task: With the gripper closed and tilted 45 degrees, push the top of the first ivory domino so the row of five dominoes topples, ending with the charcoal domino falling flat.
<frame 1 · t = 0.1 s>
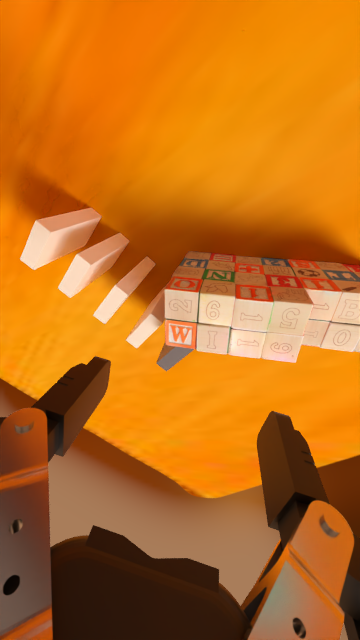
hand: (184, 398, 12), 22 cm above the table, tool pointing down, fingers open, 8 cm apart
domino 2: (115, 250, 32), on the table
domino 3: (141, 272, 33), on the table
stack of blocks: (268, 280, 31), on the table
domino 5: (189, 313, 35), on the table
domino 4: (165, 293, 34), on the table
domino 1: (88, 227, 31), on the table
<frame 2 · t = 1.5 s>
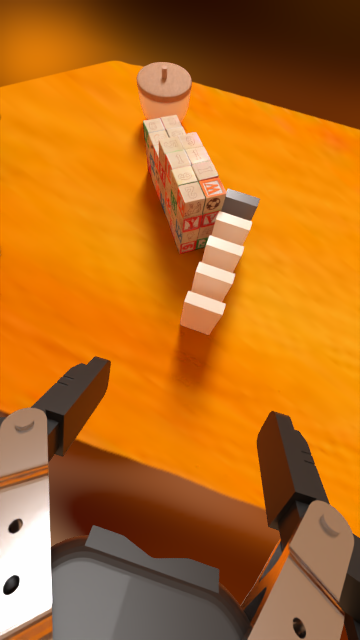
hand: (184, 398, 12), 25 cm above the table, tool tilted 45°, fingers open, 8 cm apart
domino 2: (204, 302, 40), on the table
domino 3: (212, 280, 42), on the table
stack of blocks: (177, 206, 47), on the table
domino 5: (226, 240, 45), on the table
lidded jar: (164, 123, 54), on the table
domino 4: (219, 259, 43), on the table
domino 1: (195, 325, 39), on the table
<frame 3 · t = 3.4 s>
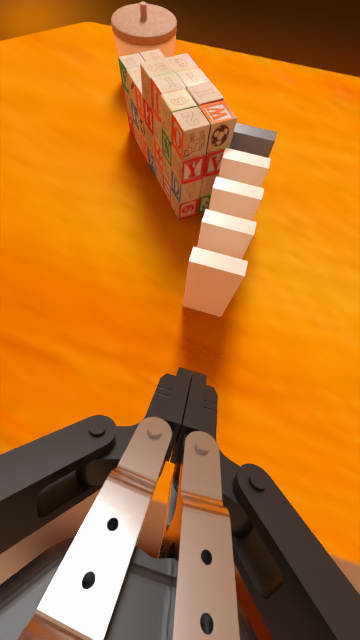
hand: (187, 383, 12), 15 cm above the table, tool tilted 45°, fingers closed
domino 2: (211, 276, 32), on the table
domino 3: (218, 249, 33), on the table
stack of blocks: (169, 168, 39), on the table
domino 5: (232, 202, 36), on the table
lidded jar: (148, 81, 46), on the table
domino 4: (225, 225, 35), on the table
domino 1: (203, 306, 30), on the table
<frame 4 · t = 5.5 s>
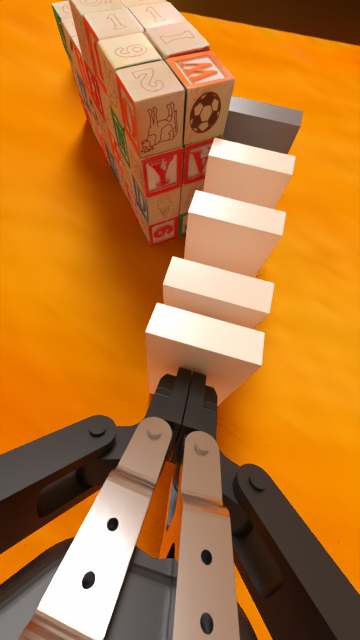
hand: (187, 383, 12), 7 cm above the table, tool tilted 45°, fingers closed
domino 2: (196, 340, 20), on the table
domino 3: (208, 295, 22), on the table
stack of blocks: (140, 170, 28), on the table
domino 5: (228, 221, 25), on the table
domino 4: (219, 256, 23), on the table
domino 1: (182, 392, 19), on the table, tilted 12°
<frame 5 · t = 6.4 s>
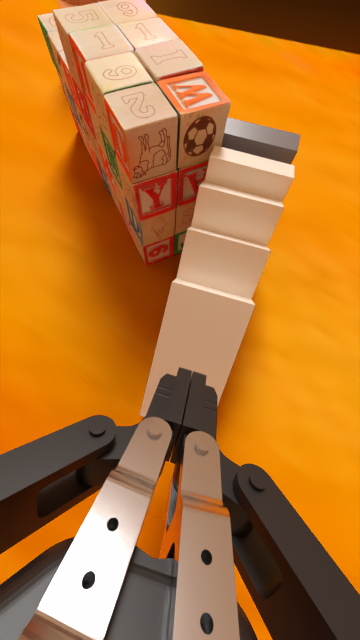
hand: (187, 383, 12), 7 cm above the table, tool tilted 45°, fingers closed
domino 2: (189, 362, 19), point 1 cm above the table, tilted 42°, touching domino 1, domino 3
domino 3: (202, 316, 21), on the table, tilted 28°, touching domino 2, domino 4
stack of blocks: (133, 184, 27), on the table, touching domino 4
domino 5: (224, 240, 24), on the table
domino 4: (213, 276, 22), on the table, tilted 13°, touching domino 3, stack of blocks
domino 1: (174, 418, 18), point 1 cm above the table, tilted 51°, touching domino 2
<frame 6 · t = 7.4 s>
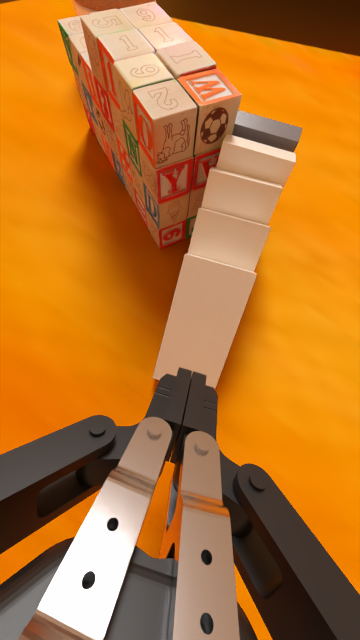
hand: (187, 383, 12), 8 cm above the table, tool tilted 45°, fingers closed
domino 2: (197, 335, 21), point 1 cm above the table, tilted 43°, touching domino 1
domino 3: (208, 294, 23), on the table, tilted 30°
stack of blocks: (144, 175, 29), on the table, touching domino 4
domino 5: (231, 226, 26), on the table
lidded jar: (123, 66, 36), on the table
domino 4: (219, 259, 24), on the table, tilted 15°, touching stack of blocks
domino 1: (183, 382, 20), point 1 cm above the table, tilted 52°, touching domino 2
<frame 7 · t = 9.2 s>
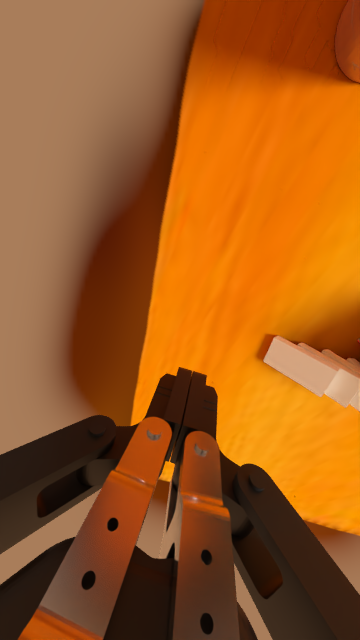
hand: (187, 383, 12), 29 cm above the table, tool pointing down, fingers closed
domino 2: (293, 355, 41), point 1 cm above the table, tilted 48°, touching domino 1
domino 3: (318, 361, 41), on the table, tilted 38°, touching domino 4
domino 4: (342, 369, 41), point 1 cm above the table, tilted 26°, touching domino 3, stack of blocks
domino 1: (270, 348, 41), point 1 cm above the table, tilted 55°, touching domino 2
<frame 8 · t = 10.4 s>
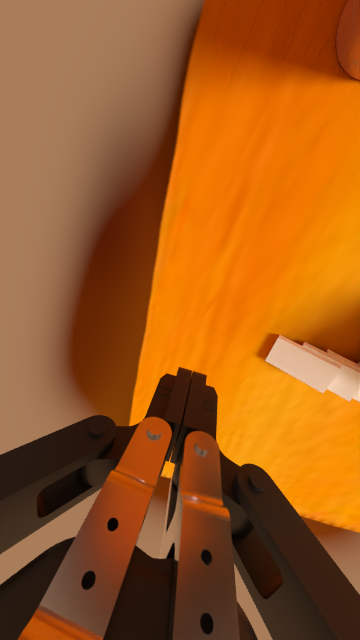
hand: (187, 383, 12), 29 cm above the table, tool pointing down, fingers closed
domino 2: (296, 354, 41), point 1 cm above the table, tilted 67°, touching domino 3
domino 3: (319, 362, 41), point 1 cm above the table, tilted 67°, touching domino 2, stack of blocks
domino 1: (272, 347, 41), point 1 cm above the table, tilted 67°
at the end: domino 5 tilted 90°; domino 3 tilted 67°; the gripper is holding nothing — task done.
